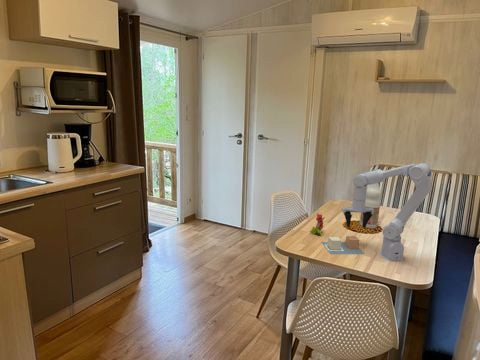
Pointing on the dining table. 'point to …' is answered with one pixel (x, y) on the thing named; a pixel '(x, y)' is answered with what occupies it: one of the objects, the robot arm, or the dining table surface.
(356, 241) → the top block
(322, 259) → the dining table surface
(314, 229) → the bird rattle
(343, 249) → the board
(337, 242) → the base block
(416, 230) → the dining table surface
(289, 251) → the dining table surface
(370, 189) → the fruit juice
